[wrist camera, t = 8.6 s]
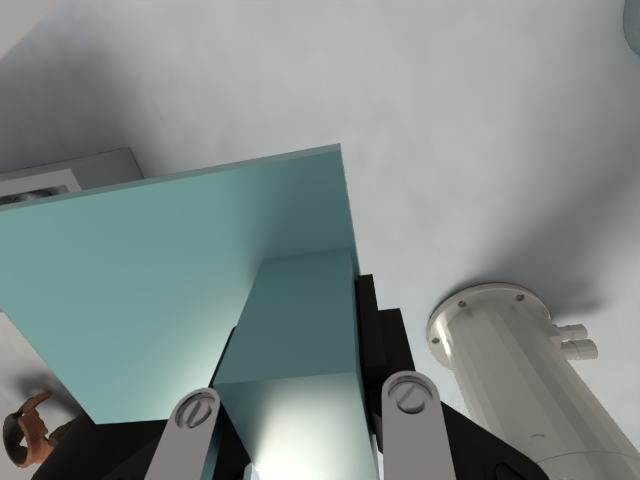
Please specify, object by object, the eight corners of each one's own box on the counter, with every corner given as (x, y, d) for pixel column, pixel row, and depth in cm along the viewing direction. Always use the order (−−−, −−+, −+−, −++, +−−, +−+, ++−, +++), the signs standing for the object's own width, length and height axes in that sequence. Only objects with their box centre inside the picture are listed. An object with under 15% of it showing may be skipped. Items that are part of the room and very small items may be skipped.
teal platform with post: (340, 134, 11) (340, 223, 5) (375, 359, 17) (398, 552, 10) (-2, 198, 13) (-337, 325, 7) (124, 382, 18) (5, 555, 12)
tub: (129, 147, 28) (69, 168, 22) (177, 253, 33) (139, 294, 27) (-4, 173, 30) (-92, 199, 24) (60, 270, 35) (0, 312, 29)
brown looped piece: (70, 434, 51) (3, 471, 44) (62, 376, 51) (-7, 403, 44) (119, 445, 46) (52, 489, 39) (110, 381, 46) (41, 413, 39)
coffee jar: (118, 336, 40) (-32, 514, 24) (191, 316, 37) (80, 497, 21) (166, 391, 44) (66, 572, 28) (234, 376, 42) (168, 564, 26)
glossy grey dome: (50, 186, 30) (36, 192, 28) (69, 217, 31) (56, 224, 30) (21, 192, 30) (5, 198, 29) (40, 222, 31) (26, 229, 30)
